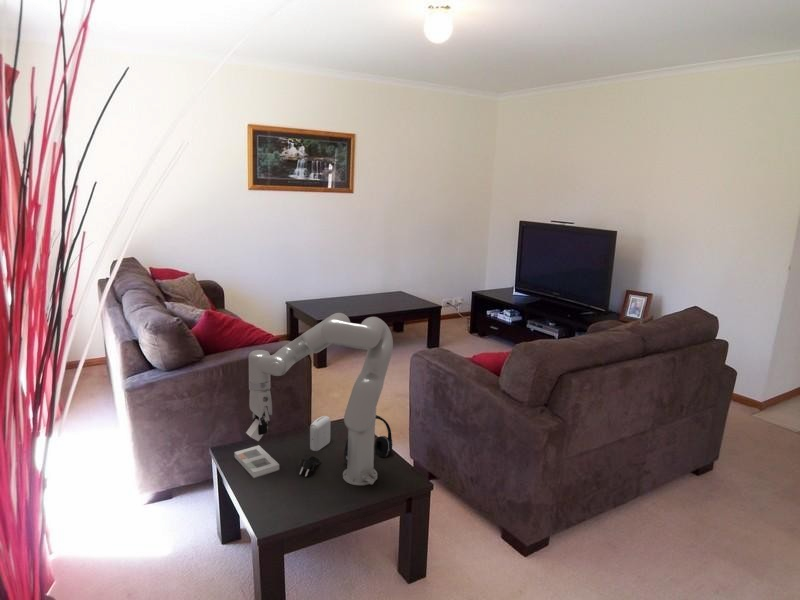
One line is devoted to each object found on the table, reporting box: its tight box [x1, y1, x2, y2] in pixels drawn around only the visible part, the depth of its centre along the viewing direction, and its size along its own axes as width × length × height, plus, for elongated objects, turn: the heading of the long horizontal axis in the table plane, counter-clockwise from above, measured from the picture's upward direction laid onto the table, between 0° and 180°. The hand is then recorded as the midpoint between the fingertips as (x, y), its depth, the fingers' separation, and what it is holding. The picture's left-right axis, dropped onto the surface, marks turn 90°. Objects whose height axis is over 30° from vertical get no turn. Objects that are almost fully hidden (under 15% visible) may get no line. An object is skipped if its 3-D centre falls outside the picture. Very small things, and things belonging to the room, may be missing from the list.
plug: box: [245, 419, 269, 442], centre depth 198 cm, size 4×4×7 cm
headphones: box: [343, 414, 393, 464], centre depth 209 cm, size 20×7×18 cm, turn 126°
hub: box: [234, 444, 280, 479], centre depth 205 cm, size 18×10×3 cm, turn 38°
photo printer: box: [309, 415, 331, 452], centre depth 219 cm, size 10×4×12 cm, turn 152°
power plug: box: [297, 454, 323, 477], centre depth 201 cm, size 6×8×12 cm
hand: (260, 430), depth 199 cm, fingers closed on plug, 4 cm apart
